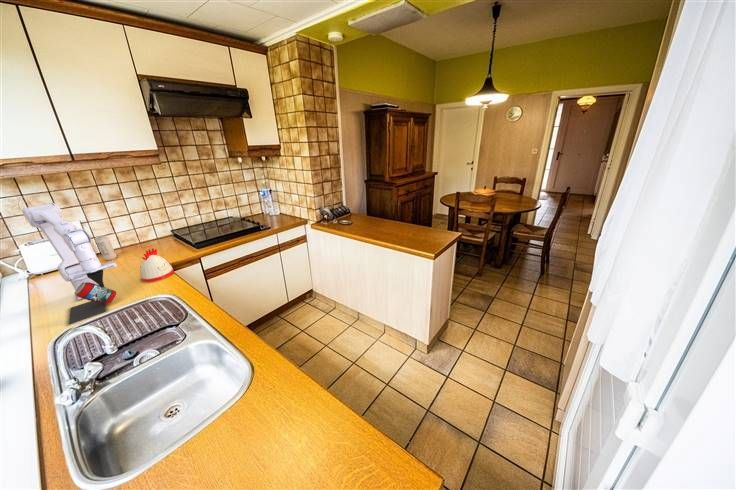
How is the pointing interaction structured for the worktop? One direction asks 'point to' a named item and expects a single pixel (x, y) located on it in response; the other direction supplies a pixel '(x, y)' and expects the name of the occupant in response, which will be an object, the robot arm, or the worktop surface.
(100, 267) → the robot arm
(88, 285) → the beverage can
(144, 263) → the kitchen timer
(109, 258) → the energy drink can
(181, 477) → the worktop surface
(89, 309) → the rubber mat
